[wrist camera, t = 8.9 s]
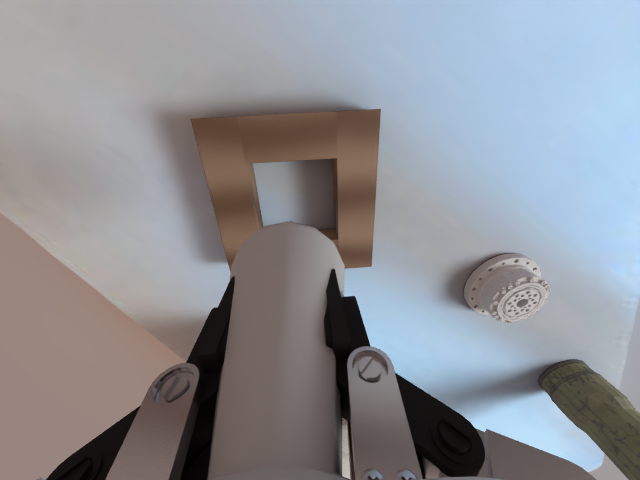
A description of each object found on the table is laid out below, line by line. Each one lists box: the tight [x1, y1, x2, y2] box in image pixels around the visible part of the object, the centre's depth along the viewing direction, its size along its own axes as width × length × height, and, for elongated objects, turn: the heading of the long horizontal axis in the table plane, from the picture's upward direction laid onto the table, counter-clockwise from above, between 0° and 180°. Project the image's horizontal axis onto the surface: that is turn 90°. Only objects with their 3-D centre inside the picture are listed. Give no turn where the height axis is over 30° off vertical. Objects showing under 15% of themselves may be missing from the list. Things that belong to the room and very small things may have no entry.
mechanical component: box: [464, 253, 551, 324], centre depth 32 cm, size 10×4×10 cm
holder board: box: [191, 109, 381, 272], centre depth 25 cm, size 16×16×3 cm
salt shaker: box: [207, 221, 350, 480], centre depth 9 cm, size 6×6×13 cm
